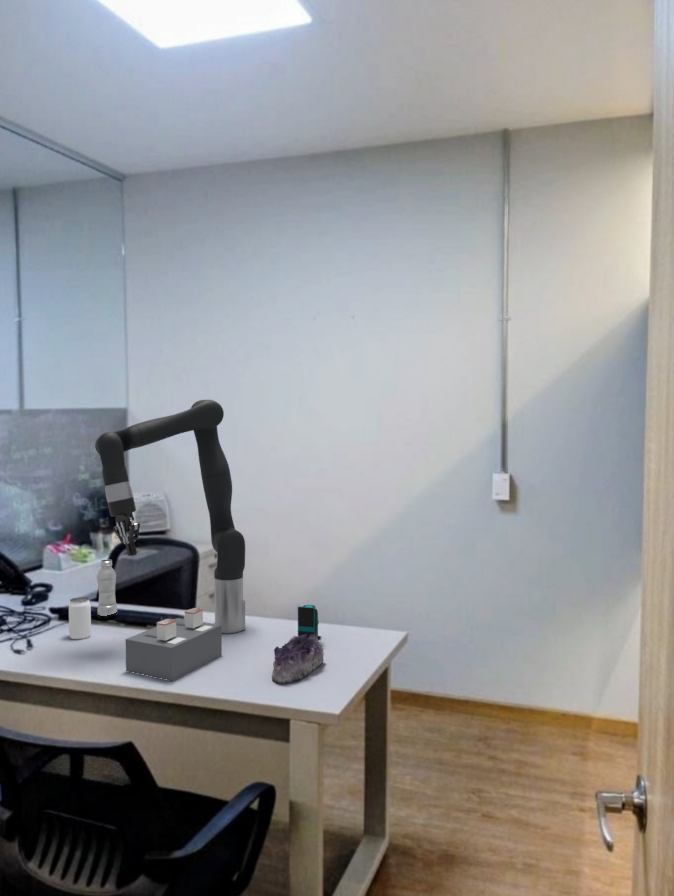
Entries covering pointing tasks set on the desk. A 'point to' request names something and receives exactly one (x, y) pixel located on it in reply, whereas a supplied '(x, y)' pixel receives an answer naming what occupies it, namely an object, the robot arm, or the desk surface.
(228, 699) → the desk surface
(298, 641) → the geode
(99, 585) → the plastic bottle
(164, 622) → the switch
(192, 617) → the switch
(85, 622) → the can
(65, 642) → the desk surface
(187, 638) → the power box
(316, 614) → the surveillance camera
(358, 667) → the desk surface
